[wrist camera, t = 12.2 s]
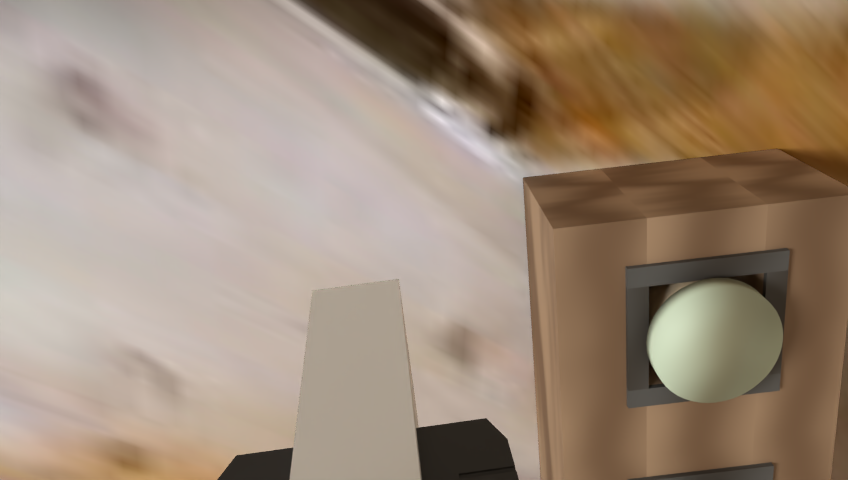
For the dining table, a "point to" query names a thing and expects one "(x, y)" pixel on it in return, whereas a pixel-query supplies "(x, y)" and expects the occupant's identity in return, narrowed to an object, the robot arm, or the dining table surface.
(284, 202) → the dining table surface
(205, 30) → the dining table surface
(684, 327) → the peg
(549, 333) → the socket block
